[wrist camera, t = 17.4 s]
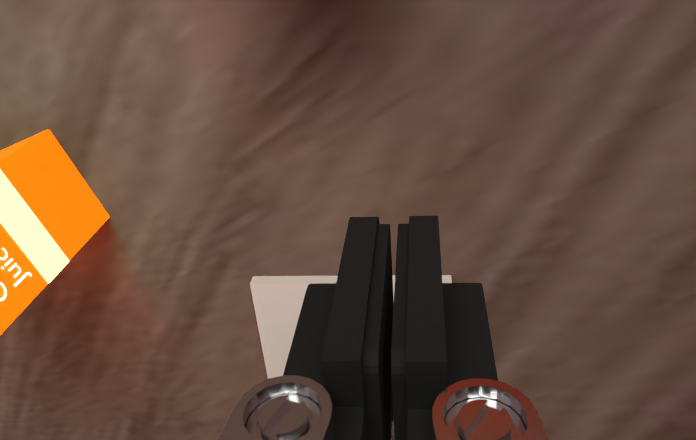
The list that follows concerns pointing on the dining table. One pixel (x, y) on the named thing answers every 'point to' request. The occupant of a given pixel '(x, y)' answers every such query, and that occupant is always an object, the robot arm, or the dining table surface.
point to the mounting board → (284, 313)
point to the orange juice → (40, 219)
